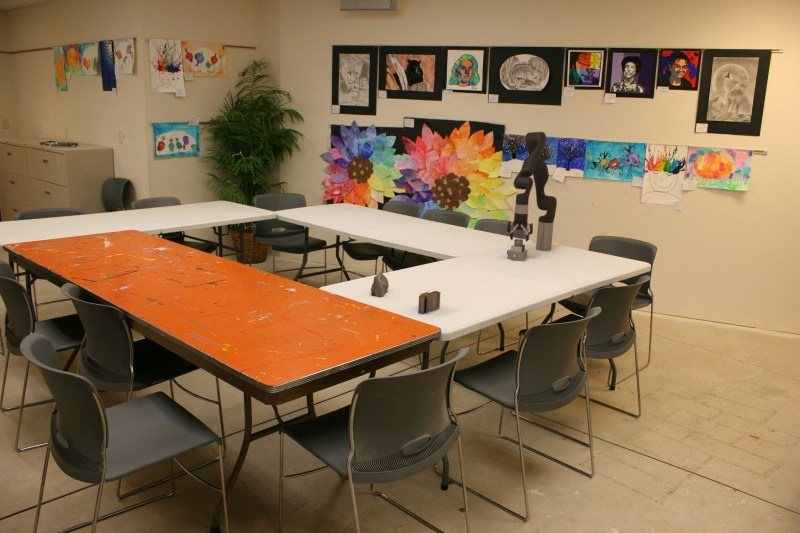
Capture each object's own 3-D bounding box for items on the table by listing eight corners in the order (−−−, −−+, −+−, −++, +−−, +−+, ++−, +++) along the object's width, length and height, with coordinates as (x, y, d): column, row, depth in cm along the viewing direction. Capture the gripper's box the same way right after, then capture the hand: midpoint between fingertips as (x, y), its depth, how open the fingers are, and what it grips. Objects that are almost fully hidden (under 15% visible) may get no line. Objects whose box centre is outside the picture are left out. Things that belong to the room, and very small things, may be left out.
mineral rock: (383, 288, 309) (384, 267, 306) (400, 293, 301) (401, 271, 299) (362, 292, 300) (363, 271, 298) (378, 298, 292) (379, 275, 290)
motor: (508, 256, 392) (509, 242, 390) (526, 258, 388) (528, 244, 386) (503, 259, 381) (504, 245, 379) (521, 262, 377) (523, 248, 375)
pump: (514, 249, 387) (515, 237, 385) (523, 250, 385) (524, 238, 384) (512, 250, 383) (513, 238, 381) (521, 251, 381) (522, 239, 379)
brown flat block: (424, 315, 272) (425, 292, 270) (418, 313, 274) (419, 290, 271) (440, 309, 281) (441, 287, 278) (434, 308, 282) (435, 286, 280)
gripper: (535, 212, 379) (533, 240, 383) (510, 210, 385) (508, 238, 389) (532, 214, 373) (530, 243, 377) (507, 212, 378) (505, 240, 382)
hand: (519, 240), depth 383 cm, fingers open, 8 cm apart
